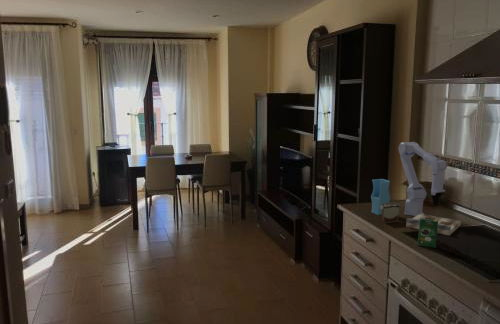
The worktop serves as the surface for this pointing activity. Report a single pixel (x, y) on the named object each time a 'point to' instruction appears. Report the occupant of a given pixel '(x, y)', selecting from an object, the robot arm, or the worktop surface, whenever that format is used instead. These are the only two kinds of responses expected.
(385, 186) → the vase
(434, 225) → the coffee box
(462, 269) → the worktop surface
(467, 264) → the worktop surface
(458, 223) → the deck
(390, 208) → the food container
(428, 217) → the block
